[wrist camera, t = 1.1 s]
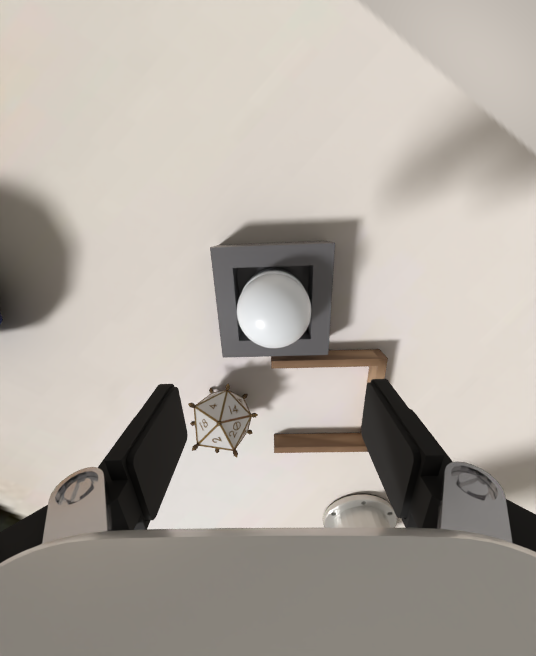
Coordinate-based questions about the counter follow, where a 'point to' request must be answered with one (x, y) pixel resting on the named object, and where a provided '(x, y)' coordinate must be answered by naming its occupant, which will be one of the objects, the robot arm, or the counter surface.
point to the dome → (274, 308)
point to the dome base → (248, 259)
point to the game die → (221, 420)
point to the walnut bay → (329, 440)
